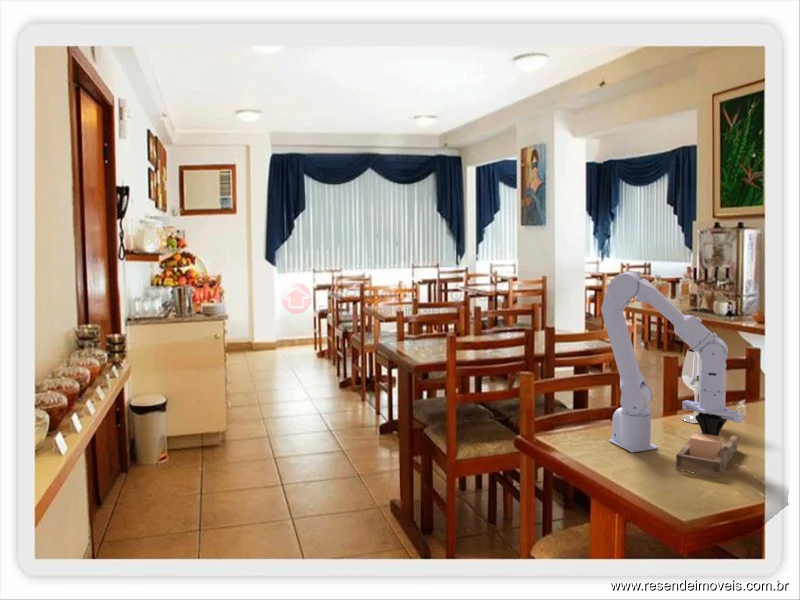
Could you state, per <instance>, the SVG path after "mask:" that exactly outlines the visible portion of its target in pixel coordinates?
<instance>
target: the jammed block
mask: <svg viewBox="0 0 800 600" xmlns="http://www.w3.org/2000/svg"><path fill="white" fill-rule="evenodd" d="M696 432H697V431H696ZM696 432H694V433H693V434H692V435H691V437H689V440H690V456H694V457H700V458H705V459H711V460H715V459H716V457H717V456H718V455H719V453H720V452H721V450H722V443H723V436H719V435H718V436H714V435H708V434H702V433H696Z"/></svg>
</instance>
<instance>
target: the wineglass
mask: <svg viewBox="0 0 800 600" xmlns="http://www.w3.org/2000/svg"><path fill="white" fill-rule="evenodd" d="M701 361H702V360H701V359H700V356H699V352H698V351H694V350H693V349H692V348H689V349H687V350H686V354H685V357H684V361H683V365H682V371H681V378H682V381H683V383H684V385H686V387H687V388H689V389H690V390H692V391H693V393H694V394H693V395H694V402H698V399H699V385H700V369H701ZM698 414H699V413H698V412H696V411H693V414H687V415H682V416H681V417H680V420H682V421H683V420H684V421H683V422H685V421H687V422H686V423H689V422H690V423H689V424H695V423H698V422H697V420H696V415H698Z"/></svg>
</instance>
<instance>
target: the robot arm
mask: <svg viewBox="0 0 800 600" xmlns="http://www.w3.org/2000/svg"><path fill="white" fill-rule="evenodd" d="M634 297H635V298H634ZM633 298H634V301H635V302H641V303H642V302H643V303H648V305H650V306H651V307H653V308H654V310H656V311H657V312H658V313H660V314H661V315H662V316H663V317H665V319H667V321H670V323H671V324H673V329H674V330H673V331H674V334H676V335H677V336H678V337H679V338H680V339H681V341H682V340H683V342H684V343H685V344H687V345H688V346H689V347H690V349H693V350H694V351H698V352H699V356H700V359H701V360H702V361H701V369H700V385H699V392H698V401H697V402H695V400H694V401H693V400H689V399H687V400H683V401H682V403H681V404H682V405H681V406H682V407H681V409H682V410H686V411H687V410H689V411H693V412H694V411H696V412H697V414H698V415H696V420H697V422H698V424H697V425H699V428H700V430H701V431H702V434H708V435H714V436H719V434H720V432H721V430H722V429H723V427H724V425H725V424H726V423H727V421H731V422H733V423H736V424H739V423H740V424H741V423H743V421H744V418H743V417H744V413H741V412H739V411H735V410H733V409H730V408H728V407H726V394H727V363H726V362H727V359H728V352H729V349H728V345H727V343H726V342H725V341H724V339H723V338H721V337H719V336H718V335H717V333H716V332H712V331H710V330H709V329H708V328H707V327H706V326H705V325H704V324H703V323H702V322H703V320H702V319H701V318H700V317H698V316H697V317H695V316H694V315H691V314H690V315H689V314H687V315H685V314H683V313H682V312H681V311H680V310H679V308H677V307H676V306H675V305H674V304H673V303H672V302H671V301H670V300H669V299H668V298H667V297H666V296H665V295H663V293H662V292H661V291H660V290H659V289H658V288H657V287H655V286H654V285H653V284H652V283H651V282H650V281H649V280H647V279H646V278H643V277H642V276H641V274H639V272H636V271H633V270H628V271H625V272H622V273H619V274H617V275H615V276H614V277H613V278H612V280H611V281H610V282H609V284H607V287H606V292H605V295H604V297H603V301H602V304H601V308H600V309H601V310H600V311H601V312H600V313H601V314H602V318H603V322H604V326H605V329H606V333H607V336H608V339H609V343H610V347H611V349H612V353H613V357H614V360H615V364H616V367H617V371H618V375H619V389H620V392H621V395H620V400H619V403H620V406H621V407H619V408H617V409H616V410H615V411H614V413H613V415H612V423H611V425H612V427H611V428H612V429H611V430H612V431H611V438H610V439H608V441H609V442H610V443H612V444H614V445H616V446H618V447H620V448H622V449H624V450H626V451H629V452H630V453H638V452H644V451H646V452H647V451H651V450H658V449H659V446H658V445H655V444H653V443H652V442H651V440H652V439H651V438H652V437H651V436H652V435H651V434H652V433H651V432H652V431H651V430H652V409H650V407H649V404H650V402H651V401H652V399H653V390H652V389H651V387H650V385H648V384H647V382H646V380H645V377H644V375H643V374H642V372H641V370H640V366H639V363H638V359H637V357H636V354H635V349H634V346H633V345H634V344H633V343H632V339H631V336H630V335H631V334H630V332H629V328H628V325H627V321H626V317H625V314H624V310H625V309H626V307H627V306H628V304H629V303H630V301H631V300H632V299H633Z"/></svg>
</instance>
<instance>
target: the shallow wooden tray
mask: <svg viewBox="0 0 800 600" xmlns="http://www.w3.org/2000/svg"><path fill="white" fill-rule="evenodd" d="M696 433H702V431H701V429H698V430H697V431H696ZM737 450H738V435H731V436H730V438H729V439H728V440H727V442H726V443H723V442H722V450H721V452H720V453H719V455H718V456H717V457H716V459H715V460H711V459H705V458H700V457H694V456H690V439H689V440H688V441H687V442H686V444H685V445H684V446H683V447H682V448H681V449H680V450H679V451H678V453H677V454H676V459H675V461H676V462H675V470H676V469H677V470H676V471H679V470H684V471H683V472H685V471H689V472H688V473H690V472H694V473H693V474H695V473H697V474H696V475H700V474H701V475H700V476H706V477H711V478H717V479H719V478H720V477H721V475H722V474H723V472H724V471H725V469H726V468H727V466H728V464H729V463H730V462H731V460H732V458H733V457H734V455H735V453H736V452H737Z"/></svg>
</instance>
